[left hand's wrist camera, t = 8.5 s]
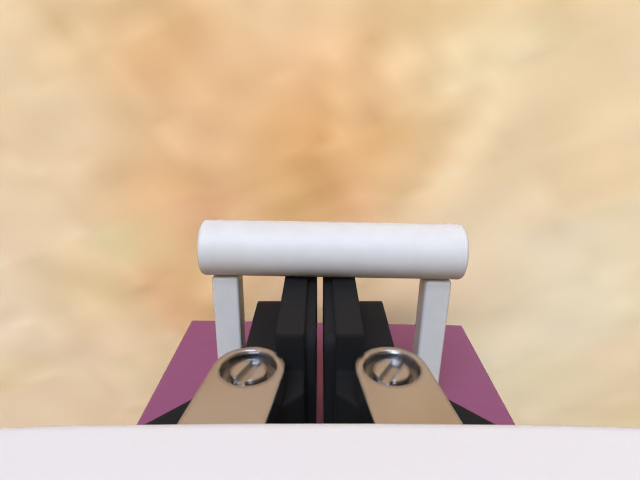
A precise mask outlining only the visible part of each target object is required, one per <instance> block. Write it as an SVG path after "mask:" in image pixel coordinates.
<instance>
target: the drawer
mask: <svg viewBox="0 0 640 480" xmlns="http://www.w3.org/2000/svg"><path fill="white" fill-rule="evenodd" d="M197 257H198V264H199V267H200V270H201V272H202V273H203V274H205V275H214V276H213V278H212V284H213V298H214V312H215V321H192V322H191V324H190V326H189V328H188V330H187V332H186V333H185V335H184V337H183V339H182V341H181V343H180V345H179V347H178V348H177V350H176V352H175V354H174V356H173V358H172V360H171V362H170V363H169V365H168V367H167V369H166V371H165V373H164V375H163V377H162V379H161V380H160V382H159V384H158V386H157V388H156V390H155V392H154V394H153V395H152V397H151V399H150V401H149V403H148V405H147V407H146V409H145V410H144V412H143V414H142V416H141V418H140V420H139V422H138V424H137V425H144V424H146V423H148V422H150V421H152V420H154V419H156V418H158V417H159V416H161V415H163V414H165V413H167V412H169V411H171V410H172V409H174V408H176V407H178V406H180V405H182V404H184V403H186V402H187V401H189V400H191V399H193V397H194V395H195V394H196V392H197V391H198V389H199V387H200V386H201V384H202V382H203V381H204V379H205V378H206V376H207V374H208V373H209V371H210V369H211V368H212V366H213V364H214V363H215V362H216V361H217V360H218V359H219V358H220V357H221V356H223V355H225V354H226V353H228V352H230V351H233V350H236V349H240V348H245V347H246V343H247V340H248V336H249V332H250V329H251V325H252V322H245V319H244V298H243V277H242V275H251V276H306V277H361V278H416V279H420V285H419V295H418V305H417V315H416V324H415V325H398V324H388V325H389V329H390V332H391V336H392V340H393V344H394V347H395V348H400V349H404V350H407V351H410V352H412V353H414V354H415V355H417V356H419V357H420V358H421V359H422V360H423V361H424V362H425V363H426V364H427V366H428V368H429V369H430V371H431V373H432V374H433V376H434V378H435V379H436V381H437V382H438V384H439V386H440V387H441V389H442V391H443V392H444V394H445V395H446V397H447V399H449V400H451V401H453V402H454V403H456V404H458V405H460V406H462V407H464V408H466V409H467V410H469V411H471V412H473V413H475V414H477V415H479V416H481V417H482V418H484V419H486V420H488V421H490V422H492V423H494V424H496V425H515V424H514V422H513V420H512V418H511V416H510V415H509V413H508V411H507V409H506V407H505V405H504V404H503V402H502V400H501V398H500V396H499V394H498V392H497V391H496V389H495V387H494V385H493V383H492V381H491V380H490V378H489V376H488V374H487V372H486V370H485V369H484V367H483V365H482V363H481V361H480V359H479V358H478V356H477V354H476V352H475V350H474V348H473V346H472V345H471V343H470V341H469V339H468V337H467V335H466V334H465V332H464V330H463V328H462V326H452V325H446V320H447V312H448V304H449V296H450V289H451V282H450V280H449V279H460V278H462V277H463V276H464V274H465V272H466V269H467V264H468V257H469V245H468V238H467V234H466V231H465V229H464V227H463V226H462V225H459V224H421V223H365V222H310V221H254V220H205V221H203V222H202V224H201V227H200V230H199V234H198V241H197ZM316 424H324V417H323V323H317V414H316Z"/></svg>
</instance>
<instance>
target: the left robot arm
mask: <svg viewBox="0 0 640 480" xmlns="http://www.w3.org/2000/svg"><path fill="white" fill-rule="evenodd" d="M316 414H317V277H306V276H285V282H284V288H283V294H282V300H281V301H258V303H257V307H256V310H255V314H254V318H253V321H252V325H251V329H250V332H249V336H248V340H247V343H246V347H245V348H240V349H236V350H233V351H230V352H228V353H226V354H225V355H223V356H221V357H220V358H219V359H218V360H217V361H216V362H215V363H214V364H213V366H212V368H211V369H210V371H209V373H208V374H207V376H206V378H205V379H204V381H203V382H202V384H201V386H200V387H199V389H198V391H197V392H196V394H195V395H194V397H193V399H191V400H189V401H187V402H186V403H184V404H182V405H180V406H178V407H176V408H174V409H172V410H171V411H169V412H167V413H165V414H163V415H161V416H159V417H158V418H156V419H154V420H152V421H150V422H148V423H146V424H144V425H89V426H49V427H19V428H0V480H640V428H625V427H589V426H554V425H496V424H494V423H492V422H490V421H488V420H486V419H484V418H482V417H481V416H479V415H477V414H475V413H473V412H471V411H469V410H467V409H466V408H464V407H462V406H460V405H458V404H456V403H454V402H453V401H451V400H449V399H447V397H446V395H445V394H444V392H443V391H442V389H441V387H440V386H439V384H438V382H437V381H436V379H435V378H434V376H433V374H432V373H431V371H430V369H429V368H428V366H427V364H426V363H425V362H424V361H423V360H422V359H421V358H420V357H419V356H417V355H415V354H414V353H412V352H410V351H407V350H404V349H400V348H395V347H394V344H393V340H392V336H391V332H390V329H389V325H388V321H387V318H386V314H385V310H384V307H383V303H382V301H359V300H358V294H357V288H356V282H355V277H323V417H324V424H316Z"/></svg>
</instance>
